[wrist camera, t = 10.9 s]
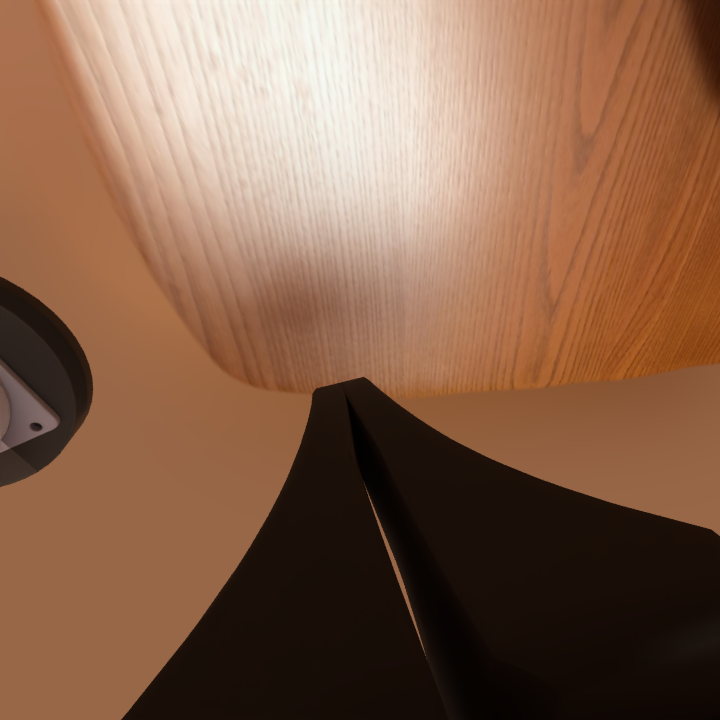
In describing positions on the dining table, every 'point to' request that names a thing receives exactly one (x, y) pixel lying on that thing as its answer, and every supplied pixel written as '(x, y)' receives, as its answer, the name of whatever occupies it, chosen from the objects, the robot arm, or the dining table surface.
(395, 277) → the dining table surface
